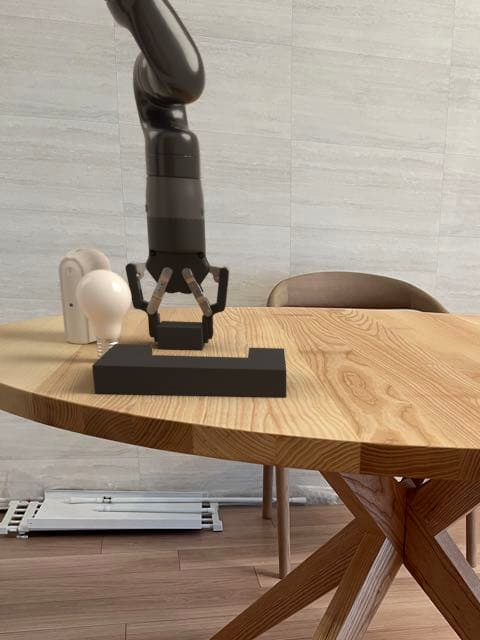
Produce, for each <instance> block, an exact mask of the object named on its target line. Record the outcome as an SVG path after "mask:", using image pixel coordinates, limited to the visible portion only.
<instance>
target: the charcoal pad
mask: <svg viewBox="0 0 480 640" xmlns="http://www.w3.org/2000/svg"><path fill="white" fill-rule="evenodd" d="M91 367H92V368H91V369H92V378H93V392H94V394H96V395H98V394H100V395H101V394H102V395H143V396H144V395H150V396H152V395H153V396H196V397H197V396H202V397H203V396H204V397H205V396H206V397H253V398H254V397H256V398H260V397H261V398H287V362H286V354H285V348H281V347H280V348H278V347H248V353H247V357H244V356H243V357H239V356H208V355H207V356H206V355H205V356H203V355H169V354H168V355H167V354H153V346H152V344H138V343H136V344H135V343H119V344H114V345H113V346H112V347H111V348H110V349H109V350H108V351H107V352H106V353H105V354H104V355H103V356H102V357H101V358H100V357H99V358H98V359H97V360H96V361H95V362H94V363H93V364H92V366H91Z"/></svg>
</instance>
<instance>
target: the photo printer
mask: <svg viewBox="0 0 480 640" xmlns="http://www.w3.org/2000/svg"><path fill="white" fill-rule="evenodd" d="M99 269H103V270H109V271H112V267H111V263H110V261H109V258H108V257H107V256H106V255H105V254H104V253H103V252H101V251H100V250H98V249H96V248H92V247H84V246H83V247H76V248H73V249H72V250H69V252H66V254H65V255H63V257H62V258H61V260H60V262H59V263H58V278H59V279H58V280H59V291H60V298H61V299H60V300H61V308H62V309H61V310H62V319H63V329H64V338H65V340H66V341H67V342H69V343H70V344H76V345H88V344H90V343H94V342H97V341H96V336H95V335H94V333H93V330H92V326H91V323H90V322H89V320H88V319H87V317H86V316H85V315H84V313H83V312H82V310H81V309H80V307H79V305H78V302H77V297H76V290H77V286H78V283H79V282H80V280H81V279H82V277H83V276H84V275H86V274H87V273H89V272H91V271H94V270H99Z"/></svg>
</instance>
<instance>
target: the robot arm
mask: <svg viewBox="0 0 480 640" xmlns="http://www.w3.org/2000/svg"><path fill="white" fill-rule="evenodd" d="M104 2H105V5H106V7H107V9H108V11H109V13H110V15H111V17H112V18H113V20H114V21H115V23H116V24H117V25H118V26H120V27H121V28H123V29H126V30H127V31H128V32H129V33H130V35H131V36H132V37H133V39H134V41H135V43H136V46H138V49H139V50H140V52H139V53H138V54H137V55H136V58H135V60H134V63H133V69H132V89H133V90H132V91H133V96H134V101H135V105H136V110H137V115H138V119H139V123H140V127H141V131H142V134H143V138H144V160H145V175H146V176H145V177H146V178H145V180H146V181H145V205H144V209H145V213H146V230H147V243H148V244H147V245H148V257H147V259H146V261H145V262H137V263H135V262H129V263H127V264H126V265H125V273H126V279H127V284H128V286H129V288H130V291H131V296H132V302H131V304H132V306H133V308H134V309H135V310H140V311H143V312H145V314H146V315H147V322H148V323H147V324H148V335H149V337H150V338H151V339H153V341H154V343H158V342H157V326H158V325H159V324H160V323H161V313H159V307H160V305H161V303H162V301H163V299H164V297H165V295H166V294H177V293H180V294H184V295H191V294H192V296H193V297H194V299H195V301H196V302H197V304H198V306H199V308H200V310H201V312H202V316H201V322H202V326H203V343H205V344H209V342H210V340H212V339H213V337H214V315H216V314H218V313H223V312H224V311H225V309H226V308H227V307H226V305H227V297H228V289H229V288H228V287H229V278H230V269H229V267H227V266H217V265H216V266H215V265H211V264H210V263H209V261H208V258H207V247H206V245H207V243H206V221H205V220H206V218H205V217H206V216H205V211H206V210H205V197H204V196H205V195H204V190H203V183H202V160H201V159H202V158H201V147H200V140H199V137H198V135H197V134H196V133H195V132H194V131H192V130H191V129H190V126H189V122H188V114H187V105H191V104H194V103H195V102H197V101H198V100H199V99H200V98H201V96H202V95H203V93H204V91H205V87H206V82H207V81H206V79H207V78H206V76H207V75H206V69H205V65H204V61H203V58H202V55H201V52H200V50H199V48H198V46H197V44H196V42H195V40H194V39H193V37H192V35H191V34H190V31H189V30H188V29H187V27H186V26H185V24H184V22H183V21H182V19H181V17H180V16H179V14H178V12H177V11H176V10H175V8H174V6H173V5H172V4H171V2H170V0H104ZM145 271H147V272H148V273H149V275H150V276H151V277H152V278H153V280H154V282H156V285H155V288H154V290H153V293H152V295H151V297H150V300H149V301H147V300H145V299H144V294H143V289H142V284H141V280H142V279H143V278H144V277H145ZM209 274H211V275H212V277H213V278H212V279H213V281H214V282H215V283H217V284H218V285H217V293H216V294H217V295H216V302H214V303H211V302H210V299H208V296H207V293H206V292H205V290H204V287H203V285H202V284H203V282H204V280H205V279H206V277H208V275H209Z"/></svg>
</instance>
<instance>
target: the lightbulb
mask: <svg viewBox="0 0 480 640" xmlns="http://www.w3.org/2000/svg"><path fill="white" fill-rule="evenodd" d="M76 297H77V302H78V305H79V307H80V309H81V310H82V312H83V313H84V315H85V316H86V317H87V319H88V320H89V322H90V323H91V326H92V330H93V333H94V335H95V336H96V341H95V342H96V345H97V346H96V348H97V350H96V352H97V357H98V358H99V359H100V358H101V357H102V356H103V355H104V354H105V353H106V352H107V351H108V350H109V349H110V348H111V347H112V346H113V345H114V344H120V336H121V333H122V327H123V323H124V320H125V318H126V317H127V315H128V314H129V312H130V310H131V307H132V296H131V291H130V288H129V284H128V282H126V280H125V279H124V278H123V277H122V276H121V275H120V274H118V273H116V272H114V271H112V270H111V271H109V270H103V269H99V270H94V271H91V272H89V273H87V274H86V275H84V276H83V277H82V279H81V280H80V282H79V283H78V286H77V290H76Z"/></svg>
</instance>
